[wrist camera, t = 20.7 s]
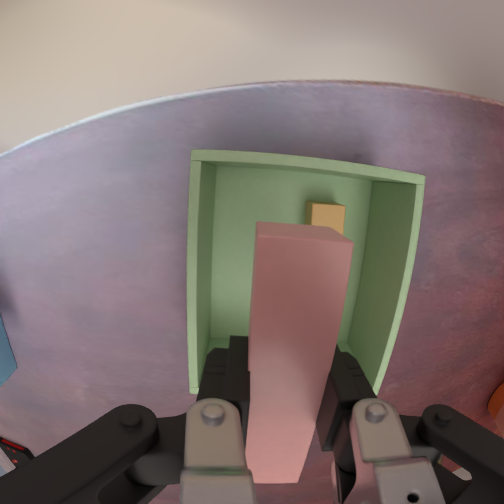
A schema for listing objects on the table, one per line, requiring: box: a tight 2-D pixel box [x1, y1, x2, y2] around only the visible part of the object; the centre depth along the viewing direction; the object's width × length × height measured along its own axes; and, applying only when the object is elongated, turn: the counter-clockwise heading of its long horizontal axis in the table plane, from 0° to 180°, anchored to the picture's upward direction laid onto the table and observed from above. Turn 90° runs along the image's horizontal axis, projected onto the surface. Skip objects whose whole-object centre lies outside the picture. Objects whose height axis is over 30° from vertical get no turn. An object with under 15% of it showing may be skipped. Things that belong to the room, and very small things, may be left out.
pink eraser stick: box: [245, 221, 354, 483], centre depth 10 cm, size 10×2×2 cm, turn 176°
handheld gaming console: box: [0, 437, 34, 469], centre depth 29 cm, size 9×12×10 cm
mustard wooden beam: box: [305, 201, 346, 235], centre depth 22 cm, size 10×2×2 cm, turn 177°
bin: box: [187, 149, 425, 395], centre depth 20 cm, size 15×13×8 cm
